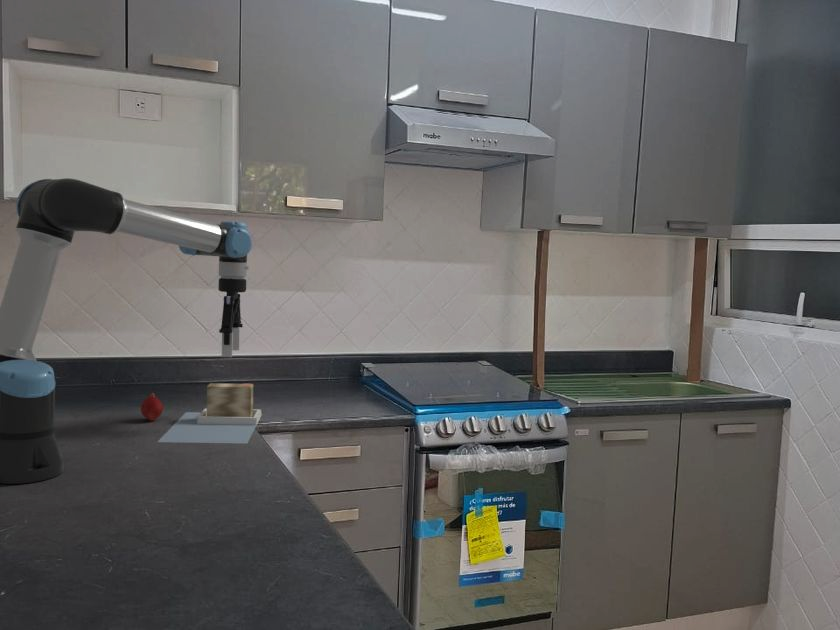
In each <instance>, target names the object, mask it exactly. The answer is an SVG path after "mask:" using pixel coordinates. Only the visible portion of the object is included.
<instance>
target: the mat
mask: <svg viewBox="0 0 840 630" xmlns="http://www.w3.org/2000/svg"><path fill="white" fill-rule="evenodd" d="M201 412H202V411H201ZM201 412H199V411H198V412H194V411H193V412H190V411H186V412H185V413H183V414H182V416H181V417H180V418H179V419H178V420H177V421H176V422H175V423H174V424H173V425H172V426H171V427H170V428H169V429H168V430H167V431H166V432H165V433H164V434H163V435H162V436H161V437H160V438H159V440H158V441H157V443H167V444H168V443H173V444H174V443H176V444H177V443H180V444H181V443H182V444H183V443H184V444H185V443H187V444H241V445H242V444H248V442H249V441H250V439H251V437H252V435H253V433H254V431H255V429H256V427H257V425H216V424H197V417H198V416H199V415H200V413H201ZM262 416H263V413H261V417H260V419H261V418H262Z"/></svg>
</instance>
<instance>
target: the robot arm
mask: <svg viewBox="0 0 840 630" xmlns="http://www.w3.org/2000/svg"><path fill="white" fill-rule="evenodd" d="M15 207H16V213H17V215H18V220H17V224H16V227H15V231H16V232H17V234H18V236H19V237H20V241H19V244H18V247H17V250H16V253H15V258H14V261H13V264H12V267H11V270H10V274H9V278H8V280H7V284H6V286H5V290H4V293H3V295H2V301H1V303H0V484H1V485H17V484H18V485H19V484H28V483H36V482H42V481H45V480H50V479H53V478H54V477H57V476H59V475H61V474H62V473H63V472H64V468H65V467H64V464H65V463H64V458H63V454H62V452H61V448H60V446H59V444H58V441H57V439H56V435H55V434H56V433H55V419H56V418H55V417H56V415H55V410H56V409H55V407H56V404H55V403H56V402H55V399H56V396H55V394H56V380H55V372H54V369H53V367H52V366H50V365H49V364H48V363H45V362H43V361H37V358H36V356H35V355H34V353H33V347H34V345H35V340H36V337H37V334H38V331H39V327H40V323H41V320H42V318H43V313H44V310H45V307H46V304H47V300H48V296H49V294H50V290H51V287H52V284H53V280H54V277H55V273H56V269H57V266H58V265H59V264H58V262H59V260H60V256H61V252H62V251H63V249H66V248H67V247H69V246H71V244H72V242H73V238H74V236H75V235H74V234H75V232H93V233H94V232H95V233H101V234H102V233H103V234H107V235H113V234H115V233H116V232H118V233H122V234H127V235H130V236H134V237H135V236H136V237H140V238H144V239H149V240H153V241H158V242H163V243H166V244H170V245H175V246H178V248H179V250H180V251H181V253H182V254H183V255H189V256H205V257H206V256H208V257H209V256H210V257H218V276H219V279H218V291H219V292H221V293H226V295H224V296H223V307H222V316H221V326H220V329H218V331H219V333H221V358H232V357H233V351H240V341H241V340H240V338H241V337H240V336H241V334H240V333H241V328H243V326H244V325H243V323H242V320H241V319H242V317H241V315H242V314H241V294H240V293H245V292H247V279H246V277H247V270H248V271H249V269H250V267H249V266H248V265H247V262H248V261H247V260H248V254H249V253H250V251H251V250H252V247H253V245H252V244H253V239H252V236H251V234H250V232H249V231H248V225H247V224H246V223H245V222H241V221H221V222H220V223H215V222H212V221H209V220H204V219H202V218H201V219H200V218H196V217H192V216H189V215H185V214H182V213H178V212H174V211H172V210H171V211H170V210H167V209H163V208H160V207H156V206H152V205H147V204H144V203H140V202H136V201H133V200H131V199H130V200H129V199H126V198H124V197H123V195H122V193H120V192H116V191H115V190H114V191H113V190H110V189H108V188H107V189H106V188H103V187H102V186H98V185H95V184H92V183H89V182H86V181H82V180H80V179H76V178H68V177H67V178H66V177H65V178H58V179H57V178H56V179H53V178H43V179H39V180H36V181H34V182H31V183H29V184H28V185H26V186H24V188H23V189H22V190H20V192H19V194H18V195H17V199H16V206H15Z"/></svg>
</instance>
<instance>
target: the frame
mask: <svg viewBox="0 0 840 630" xmlns="http://www.w3.org/2000/svg"><path fill="white" fill-rule="evenodd" d="M261 414H262V409H255V408H253V417H215V416H207V407H205V408H203V410H202V411H201V413H200V415H199V416H198V417H197V424H216V425H256V426H257V425H258V423H259V421H260V419H261V418H262V416H261ZM260 417H261V418H260Z"/></svg>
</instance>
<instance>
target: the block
mask: <svg viewBox="0 0 840 630" xmlns="http://www.w3.org/2000/svg"><path fill="white" fill-rule="evenodd" d="M206 408H207V416H215V417H253V409H254V384H253V383H221V382H220V383H218V382H217V383H216V382H215V383H211V382H210V383H209V384H208V385H207V386H206Z"/></svg>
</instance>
